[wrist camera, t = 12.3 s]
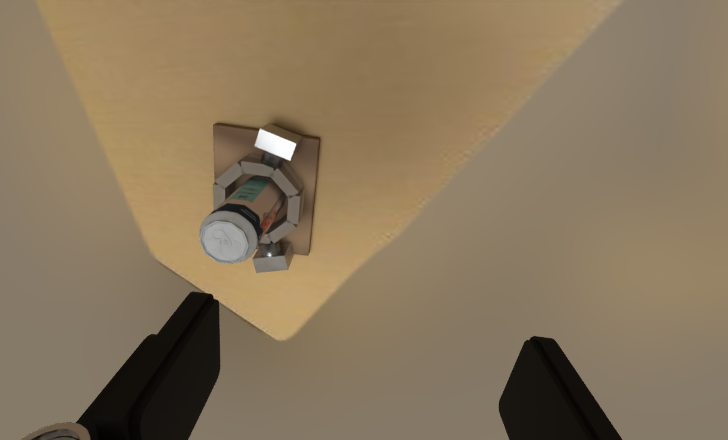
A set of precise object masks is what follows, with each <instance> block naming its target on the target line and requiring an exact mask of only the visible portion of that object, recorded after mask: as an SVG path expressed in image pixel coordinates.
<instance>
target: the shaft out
mask: <svg viewBox="0 0 728 440" xmlns="http://www.w3.org/2000/svg"><path fill="white" fill-rule="evenodd" d="M293 256H294V252H293V248H292V243H291V241H288V242H279V241H277V242H276V243H273V242H272V241H271V243H270V244H264V243H259V249H258V251H257V252H256V254H255V256H254V257H253V263H254V266H255V270H256V273H259V272H270V271H280V270H288V268H289V266H290V263H291V261H292V258H293Z"/></svg>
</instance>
